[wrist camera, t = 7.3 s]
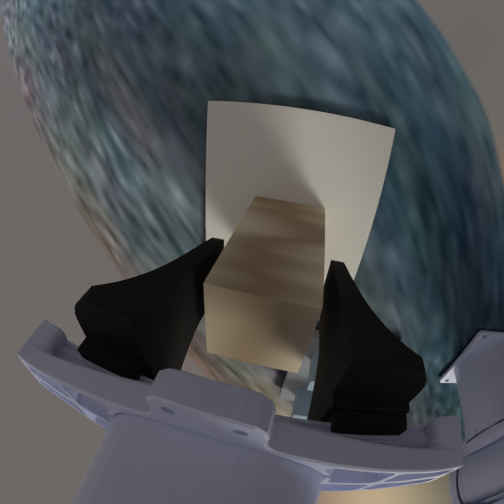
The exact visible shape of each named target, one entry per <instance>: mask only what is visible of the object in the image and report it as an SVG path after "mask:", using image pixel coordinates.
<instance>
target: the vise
mask: <svg viewBox="0 0 504 504" xmlns="http://www.w3.org/2000/svg"><path fill="white" fill-rule="evenodd" d="M402 343H403V342H402ZM318 356H319V330H318V329H315V331H314V333H313V336H312V339H311V341H310V344H309V346H308V349H307V352H306V354H305V357H304V359H303V362H302V364H301V367H300V369H299V371H298V373H295V372H290V371H287V373H286V376H285V379H284V382H283V385H282V387H281V390H280V395H279V398H281V399H287V400H293V401H294V404H293V410H292V415H291V417H292V418H298V419H305V420H307V417H308V413H309V408H310V404H311V399H312V394H313V388H314V383H315V377H316V371H317V364H318Z"/></svg>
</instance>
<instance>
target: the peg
mask: <svg viewBox="0 0 504 504" xmlns="http://www.w3.org/2000/svg"><path fill="white" fill-rule="evenodd" d="M324 264H325V208H320V207H315V206H310V205H305V204H299V203H294V202H289V201H283V200H278V199H272V198H266V197H260V196H255V198H254V200H253V201H252V203H251V204H250V206H249V208H248V209H247V211H246V213H245V214H244V216H243V218H242V219H241V221H240V222H239V224H238V226H237V227H236V229H235V231H234V232H233V234H232V236H231V237H230V239H229V241H228V242H227V244H226V246H225V247H224V249H223V251H222V252H221V254H220V256H219V257H218V259H217V261H216V263H215V264H214V266H213V268H212V269H211V271H210V273H209V274H208V276H207V278H206V280H205V281H204V283H203V284H204V306H205V325H206V341H207V352H209V353H213V354H217V355H220V356H224V357H228V358H232V359H236V360H240V361H244V362H248V363H252V364H257V365H261V366H265V367H270V368H275V369H280V370H285V371H290V372H295V373H298V371H299V369H300V367H301V364H302V362H303V359H304V357H305V354H306V352H307V349H308V346H309V344H310V341H311V339H312V336H313V333H314V331H315V328H316V325H317V322H318V320H319V317H320V314H321V311H322V307H323V289H324Z"/></svg>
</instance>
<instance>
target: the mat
mask: <svg viewBox="0 0 504 504" xmlns="http://www.w3.org/2000/svg"><path fill="white" fill-rule="evenodd" d="M394 134H395V129H394V128H391V127H387V126H384V125H380V124H376V123H372V122H368V121H364V120H360V119H355V118H351V117H346V116H342V115H337V114H331V113H326V112H321V111H315V110H309V109H302V108H295V107H288V106H280V105H271V104H260V103H248V102H233V101H208V111H207V140H206V241H207V240H209V239H210V238H212V237H213V238H218V239H224V247H225V246H226V244H227V242H228V241H229V239H230V237H231V236H232V234H233V232H234V231H235V229H236V227H237V226H238V224H239V222H240V221H241V219H242V218H243V216H244V214H245V213H246V211H247V209H248V208H249V206H250V204H251V203H252V201H253V200H254V198H255V196H260V197H266V198H272V199H278V200H283V201H289V202H294V203H299V204H305V205H310V206H315V207H320V208H325V264H324V283H325V280H326V276H327V273H328V269H329V266H330V262H331V260H335V261H340V262H344V264H345V265H346V267H347V269H348V271H349V273H350V275H351V277H352V279H353V281H354V278H355V275H356V272H357V270H358V267H359V264H360V261H361V258H362V255H363V252H364V249H365V246H366V243H367V240H368V237H369V233H370V230H371V227H372V223H373V220H374V217H375V213H376V210H377V206H378V202H379V199H380V195H381V191H382V187H383V183H384V179H385V175H386V171H387V167H388V163H389V158H390V154H391V149H392V144H393V139H394Z"/></svg>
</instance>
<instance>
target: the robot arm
mask: <svg viewBox="0 0 504 504" xmlns="http://www.w3.org/2000/svg"><path fill="white" fill-rule="evenodd" d="M223 249H224V239H218V238H213V237H212V238H210V239H209V240H207V241H205V242H204V243H202V244H201V245H199V246H197V247H196V248H194V249H193V250H191V251H189V252H188V253H186V254H184V255H183V256H181V257H179V258H177V259H175V260H174V261H172V262H170V263H168V264H166V265H164V266H162V267H160V268H157V269H155V270H153V271H150V272H148V273H145V274H142V275H139V276H136V277H133V278H130V279H126V280H122V281H118V282H113V283H108V284H102V285H96V286H91V288H90V289H89V290H88V291H87V292H86V293H85V294H84V295H83V296H82V297H81V299H80V300H79V301H78V302H77V303H76V305H75V314H76V317H77V319H78V322H79V324H80V326H81V328H82V330H83V331H84V333H85V335H86V338H85V340H84V341H83V342H82V344H81V345H80V346H77V345H75V344H73V343H71V342H70V341H68V340H67V338H66V335H65V334H64V332H63V331H62V330H61V329H60V328H59V327H57V326H55V325H54V324H52V323H50V322H49V321H47V320H44V321H43V322H42V323H41V324H40V326H39V327H38V328H37V329H36V330H35V332H34V333H33V334H32V335H31V336H30V338H29V339H28V340H27V341H26V343H25V344H24V345H23V346H22V348H21V349H20V351H19V352H18V353H17V355H18V357H19V358H20V360H21V361H22V362H23V363H24V365H25V366H26V367H27V368H28V369H29V370H30V372H31V373H32V374H33V376H34V377H35V378H36V379H37V380H38V381H39V382H40V383H41V384H42V385H43V386H44V387H46V388H47V389H48V390H50V391H51V392H52V393H54V394H55V395H56V396H58V397H59V398H61V399H62V400H63V401H65V402H66V403H68V404H69V405H70V406H72V407H73V408H75V409H76V410H78V411H79V412H80V413H82V414H84V415H85V416H86V417H89V418H90V419H91V420H93V421H94V422H96V423H97V424H99V425H101V426H102V427H104V428H106V429H107V432H106V434H105V435H104V437H103V439H102V441H101V443H100V445H99V447H98V449H97V451H96V453H95V455H94V457H93V459H92V461H91V463H90V465H89V467H88V469H87V471H86V473H85V475H84V477H83V479H82V481H81V483H80V485H79V487H78V489H77V491H76V493H75V495H74V497H73V500H72V502H71V504H318V500H319V494H320V491H359V490H372V489H383V488H391V487H399V486H406V485H413V484H420V483H425V482H430V481H432V480H435V479H437V478H439V477H441V476H444V475H446V474H448V473H450V476H449V493H450V497H451V500H452V502H453V504H504V495H503V496H501V497H498V498H496V499H494V500H491V501H487V502H486V501H483V500H486V499H488V498H490V497H493V496H495V495H498V494H500V493H502V492H504V332H495V331H485V330H481V331H479V332H478V333H477V334H476V336H475V337H474V338H473V339H472V341H471V342H470V343H469V345H468V346H467V347H466V348H465V350H464V351H463V352H462V353H461V354H460V356H459V357H458V358H457V359H456V360H455V362H454V363H453V364H452V365H451V366H450V367H449V368H448V369H447V371H446V372H445V373H444V374H443V375H442V376H441V377H440V378H439V381H440V383H457V387H458V392H459V397H460V402H461V408H462V414H463V421H464V428H465V436H466V444H465V445H463V446H462V438H461V429H460V421H459V416H457V415H455V416H442V417H437V418H434V419H432V420H431V421H430V422H428V423H427V424H426V425H425V426H407V419H406V413H408V412H409V410H410V408H409V402H410V401H411V400H412V399H413V398H414V397H415V396H416V395H417V394H418V393H419V392H420V391H421V390H422V389H423V388H424V386H425V384H426V381H427V380H426V373H425V367H424V363H423V359H422V357H420V356H419V355H418V354H416V353H415V352H414V351H412V350H411V349H410V348H408V347H407V346H406V345H405V344H404V343H402V342H401V341H400V340H399V339H398V338H397V337H396V336H395V335H394V334H393V333H392V332H391V331H390V330H389V329H388V328H387V327H386V326H385V325H384V324H383V323H382V322H381V321H380V319H379V318H378V317H377V316H376V314H375V313H374V312H373V311H372V309H371V308H370V307H369V305H368V304H367V302H366V301H365V299H364V298H363V296H362V295H361V293H360V291H359V290H358V288H357V286H356V284H355V283H354V281H353V279H352V277H351V275H350V273H349V271H348V269H347V267H346V265H345V264H344V262H340V261H335V260H331V262H330V266H329V269H328V273H327V276H326V280H325V283H324V289H323V307H322V311H321V314H320V317H319V356H318V364H317V371H316V377H315V383H314V388H313V394H312V399H311V404H310V408H309V413H308V417H307V420H305V419H298V418H292V417H286V416H280V415H275V412H276V408H275V404H274V402H273V401H272V400H271V399H269V398H268V397H267V396H265V395H264V394H262V393H259V392H256V391H253V390H250V389H247V388H243V387H238V386H234V385H230V384H227V383H223V382H219V381H215V380H212V379H208V378H205V377H201V376H198V375H195V374H191V373H188V372H185V371H182V370H181V368H182V365H183V362H184V359H185V356H186V353H187V351H188V348H189V345H190V343H191V340H192V338H193V335H194V333H195V330H196V328H197V326H198V324H199V322H200V320H201V319H202V317H203V315H204V313H205V306H204V284H203V283H204V281H205V280H206V278H207V276H208V274H209V273H210V271H211V269H212V268H213V266H214V264H215V263H216V261H217V259H218V257H219V256H220V254H221V252H222V251H223Z"/></svg>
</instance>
